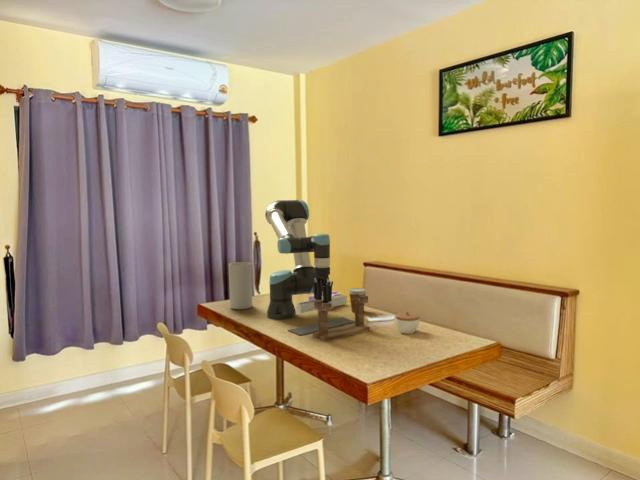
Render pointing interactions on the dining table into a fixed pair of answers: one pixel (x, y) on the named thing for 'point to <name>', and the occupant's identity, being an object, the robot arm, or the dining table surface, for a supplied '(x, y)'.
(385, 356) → the dining table surface
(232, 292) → the cylinder vase
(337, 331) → the hook rack
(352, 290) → the disposable coffee cup
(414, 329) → the lidded jar
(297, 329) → the rubber mat
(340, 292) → the lilac boxy piece
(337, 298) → the steel rail
